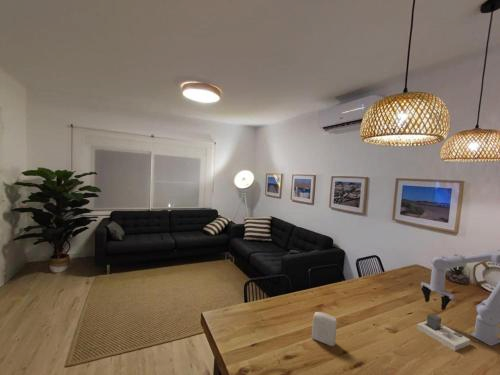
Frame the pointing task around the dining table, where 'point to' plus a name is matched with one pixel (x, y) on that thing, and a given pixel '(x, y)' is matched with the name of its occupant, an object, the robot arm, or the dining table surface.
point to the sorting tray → (445, 336)
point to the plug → (434, 322)
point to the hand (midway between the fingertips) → (434, 305)
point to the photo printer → (324, 328)
